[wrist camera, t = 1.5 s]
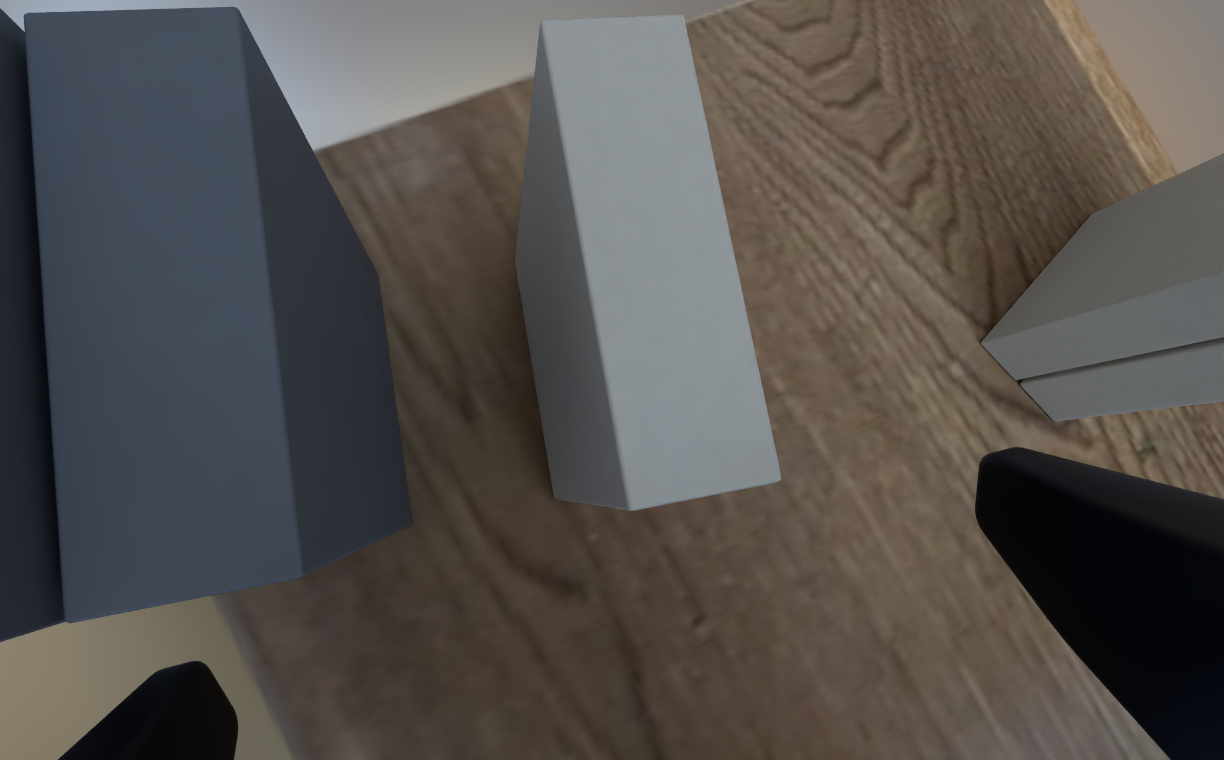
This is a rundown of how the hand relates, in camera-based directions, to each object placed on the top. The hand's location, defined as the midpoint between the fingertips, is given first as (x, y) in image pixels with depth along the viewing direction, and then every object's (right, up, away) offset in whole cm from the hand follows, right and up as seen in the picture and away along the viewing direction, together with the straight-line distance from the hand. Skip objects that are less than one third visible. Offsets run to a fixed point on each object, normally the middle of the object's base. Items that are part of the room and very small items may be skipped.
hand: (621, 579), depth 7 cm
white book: (-2, +3, +17) cm, 17 cm away
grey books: (-11, +1, +15) cm, 18 cm away
